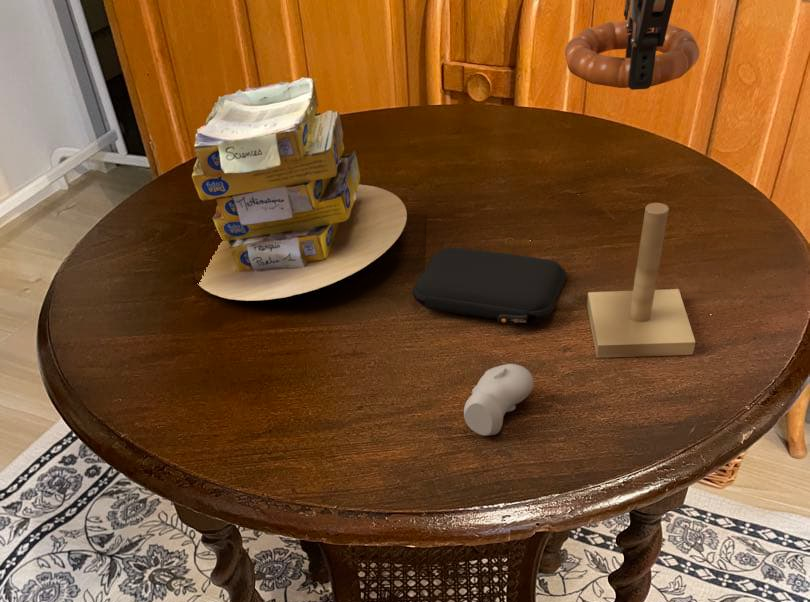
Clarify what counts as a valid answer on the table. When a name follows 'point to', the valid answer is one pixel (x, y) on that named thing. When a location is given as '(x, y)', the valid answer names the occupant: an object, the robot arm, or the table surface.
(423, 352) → the table surface
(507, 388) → the smooth white sculpture
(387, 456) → the table surface
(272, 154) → the stack of yellow boxes
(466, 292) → the carrying case
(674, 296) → the post
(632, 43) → the robot arm
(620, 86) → the ring
